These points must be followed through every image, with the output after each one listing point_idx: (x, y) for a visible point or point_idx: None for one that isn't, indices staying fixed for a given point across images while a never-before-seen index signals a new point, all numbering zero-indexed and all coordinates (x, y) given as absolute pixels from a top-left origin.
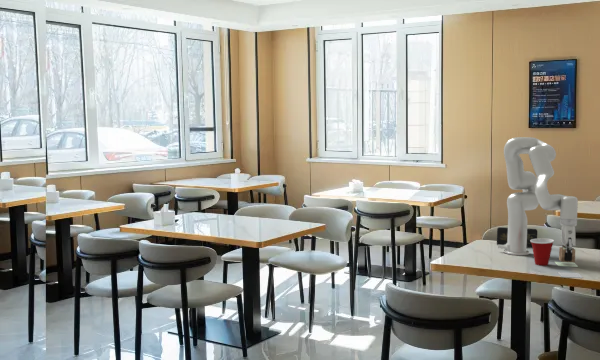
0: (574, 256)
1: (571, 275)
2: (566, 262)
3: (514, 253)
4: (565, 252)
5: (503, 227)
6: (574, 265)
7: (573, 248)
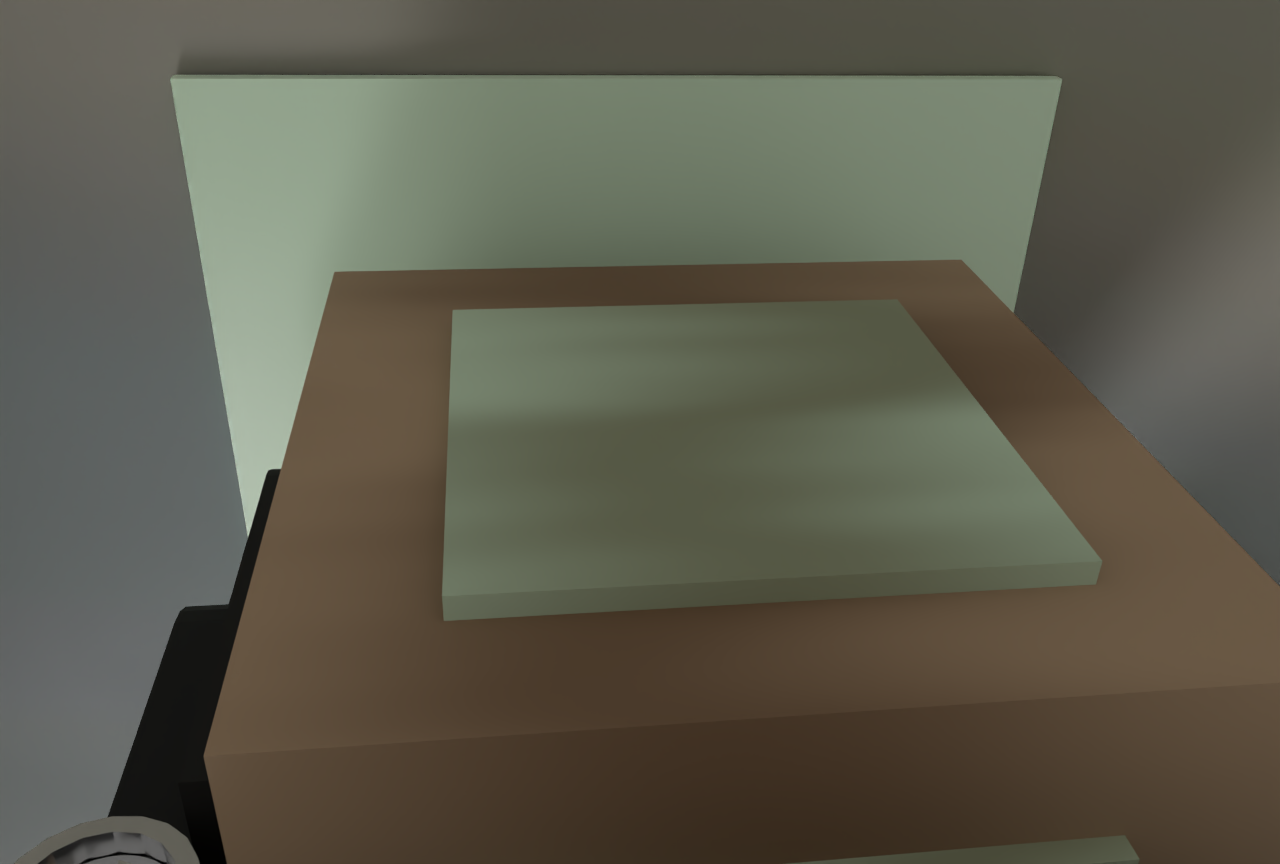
0: (1096, 430)
1: None
2: (272, 411)
3: None
4: None
5: None
6: (851, 201)
7: (614, 729)
